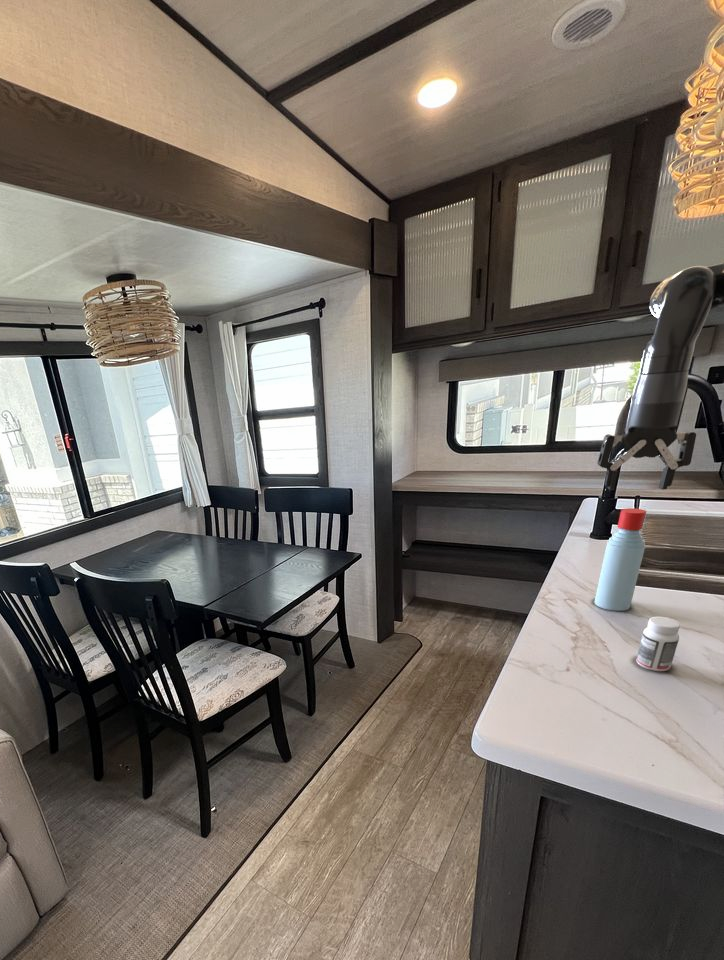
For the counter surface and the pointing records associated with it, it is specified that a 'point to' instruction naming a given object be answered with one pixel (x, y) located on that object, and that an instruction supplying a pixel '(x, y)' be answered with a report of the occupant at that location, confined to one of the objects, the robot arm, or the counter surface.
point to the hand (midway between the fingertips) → (636, 488)
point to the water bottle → (620, 570)
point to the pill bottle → (658, 644)
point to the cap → (631, 519)
